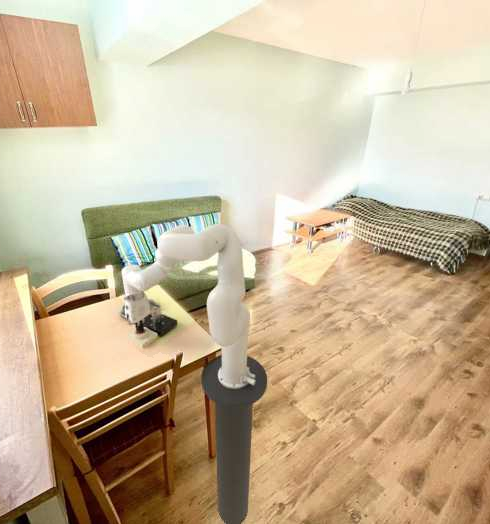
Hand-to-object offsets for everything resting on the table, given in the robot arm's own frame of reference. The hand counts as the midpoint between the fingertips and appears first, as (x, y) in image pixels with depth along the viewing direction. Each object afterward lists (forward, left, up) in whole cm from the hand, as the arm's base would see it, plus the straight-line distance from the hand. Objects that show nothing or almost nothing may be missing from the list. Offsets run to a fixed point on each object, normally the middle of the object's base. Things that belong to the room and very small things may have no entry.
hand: (140, 330), depth 122 cm
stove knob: (+1, -11, -2) cm, 11 cm away
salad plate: (+19, -15, -4) cm, 24 cm away
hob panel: (+1, -11, -4) cm, 12 cm away
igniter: (0, 0, -4) cm, 4 cm away
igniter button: (0, 0, -2) cm, 2 cm away
